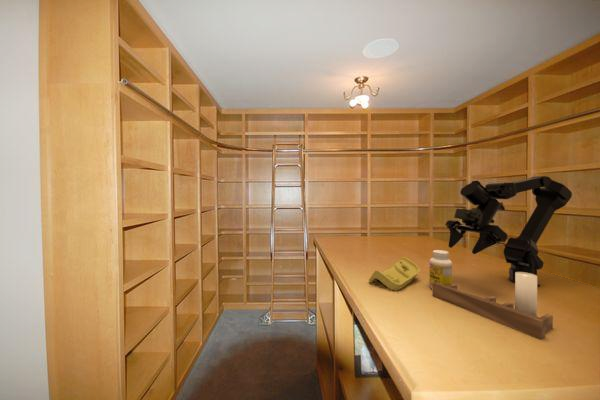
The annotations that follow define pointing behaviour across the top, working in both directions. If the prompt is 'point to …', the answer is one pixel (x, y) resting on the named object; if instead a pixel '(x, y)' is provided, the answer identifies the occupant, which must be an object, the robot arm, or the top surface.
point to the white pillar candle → (526, 292)
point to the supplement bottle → (440, 268)
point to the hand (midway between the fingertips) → (460, 250)
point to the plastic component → (397, 274)
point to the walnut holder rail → (495, 310)
